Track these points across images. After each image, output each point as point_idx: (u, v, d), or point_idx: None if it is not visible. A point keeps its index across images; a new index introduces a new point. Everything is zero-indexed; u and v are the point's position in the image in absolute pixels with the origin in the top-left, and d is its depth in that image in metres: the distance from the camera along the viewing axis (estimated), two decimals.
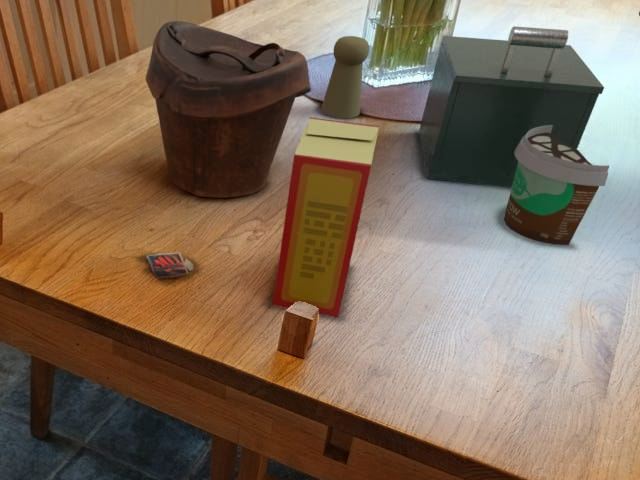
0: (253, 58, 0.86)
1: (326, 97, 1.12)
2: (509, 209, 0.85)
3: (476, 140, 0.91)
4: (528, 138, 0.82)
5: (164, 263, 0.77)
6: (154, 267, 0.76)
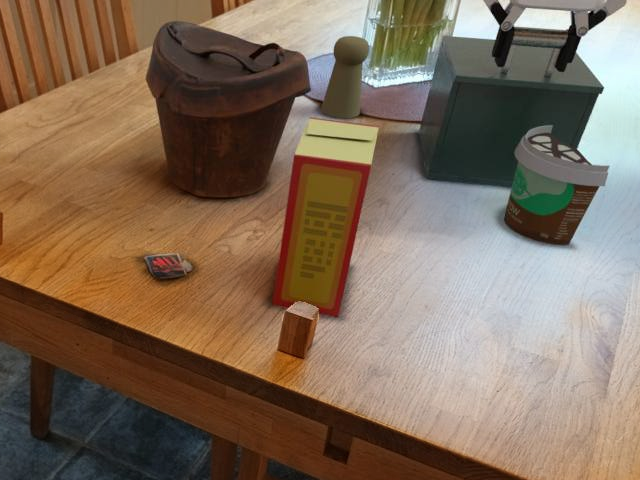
0: (253, 58, 0.86)
1: (326, 97, 1.12)
2: (509, 209, 0.85)
3: (476, 140, 0.91)
4: (528, 138, 0.82)
5: (162, 264, 0.76)
6: (152, 268, 0.76)
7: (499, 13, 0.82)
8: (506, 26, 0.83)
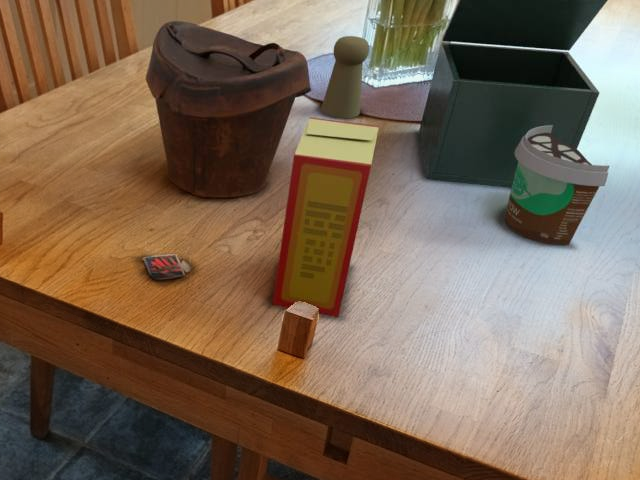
0: (253, 58, 0.86)
1: (326, 97, 1.12)
2: (509, 209, 0.85)
3: (476, 140, 0.91)
4: (528, 138, 0.82)
5: (161, 265, 0.76)
6: (150, 269, 0.76)
7: None
8: None
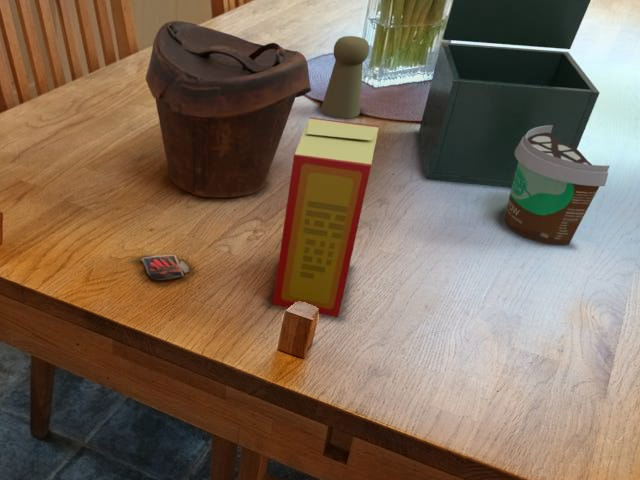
0: (253, 58, 0.86)
1: (326, 97, 1.12)
2: (509, 209, 0.85)
3: (476, 140, 0.91)
4: (528, 138, 0.82)
5: (160, 265, 0.76)
6: (149, 269, 0.76)
7: None
8: None
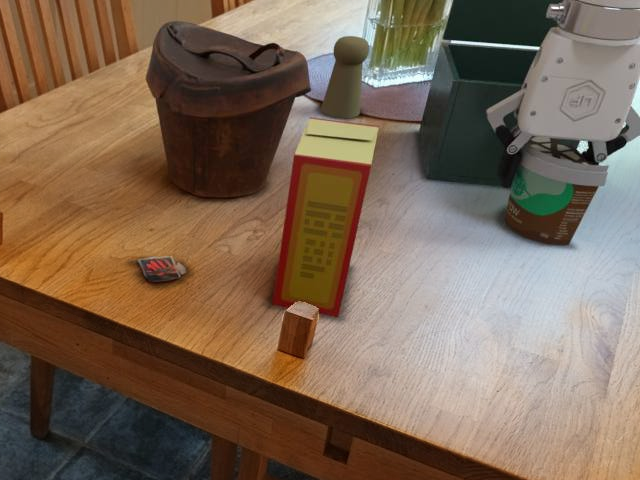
0: (253, 58, 0.86)
1: (326, 97, 1.12)
2: (509, 209, 0.85)
3: (476, 140, 0.91)
4: None
5: (156, 267, 0.76)
6: (146, 271, 0.75)
7: (505, 136, 0.79)
8: (512, 149, 0.79)
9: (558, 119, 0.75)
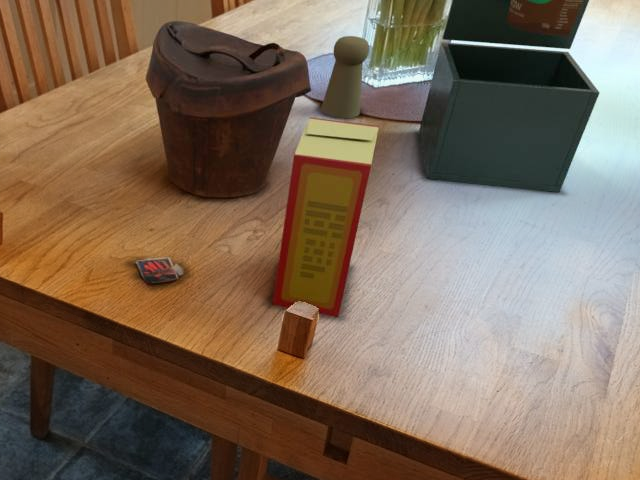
0: (253, 58, 0.86)
1: (326, 97, 1.12)
2: (512, 7, 0.88)
3: (476, 140, 0.91)
4: None
5: (154, 268, 0.76)
6: (143, 272, 0.75)
7: None
8: None
9: None
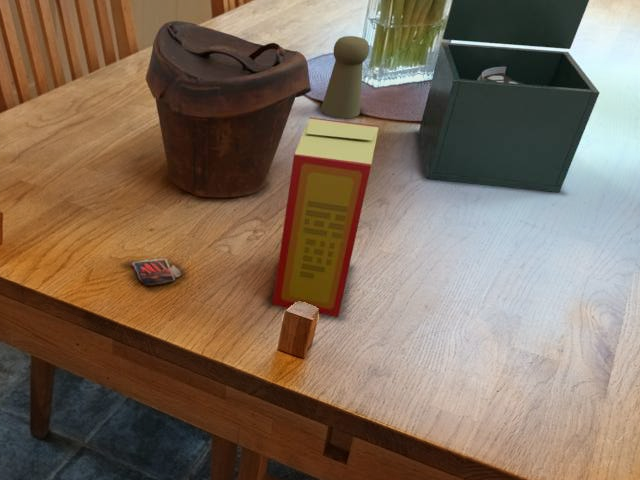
0: (253, 58, 0.86)
1: (326, 97, 1.12)
2: None
3: (476, 140, 0.91)
4: (484, 77, 0.97)
5: (151, 270, 0.76)
6: (140, 274, 0.75)
7: None
8: None
9: None
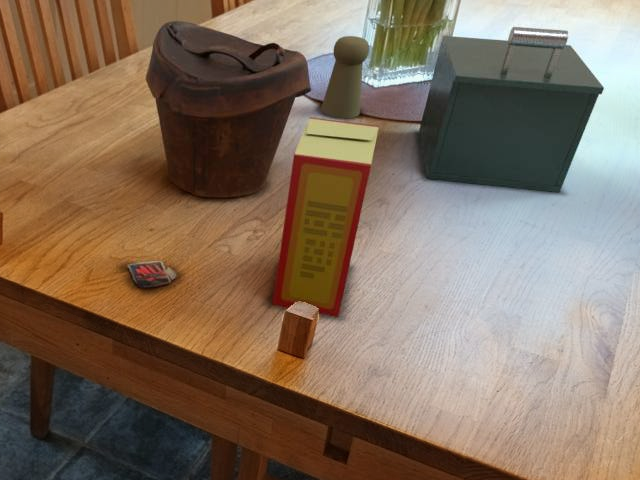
0: (253, 58, 0.86)
1: (326, 97, 1.12)
2: None
3: (476, 140, 0.91)
4: None
5: (146, 272, 0.75)
6: (135, 276, 0.74)
7: None
8: None
9: None
